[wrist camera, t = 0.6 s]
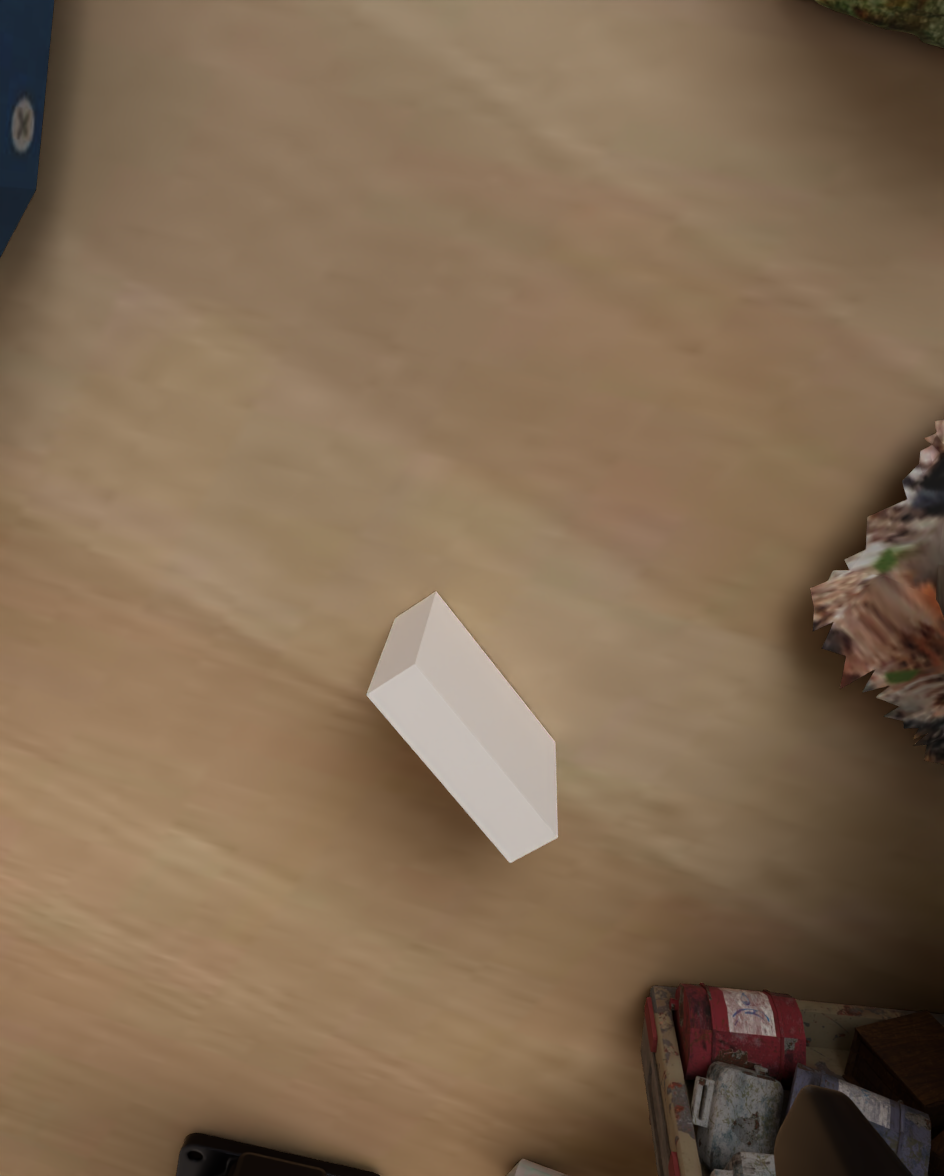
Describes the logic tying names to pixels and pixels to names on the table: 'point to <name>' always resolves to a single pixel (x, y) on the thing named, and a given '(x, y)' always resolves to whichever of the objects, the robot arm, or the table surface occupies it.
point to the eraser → (468, 727)
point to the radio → (21, 104)
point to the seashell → (898, 16)
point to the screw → (532, 1170)
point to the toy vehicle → (783, 1075)
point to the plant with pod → (897, 603)
